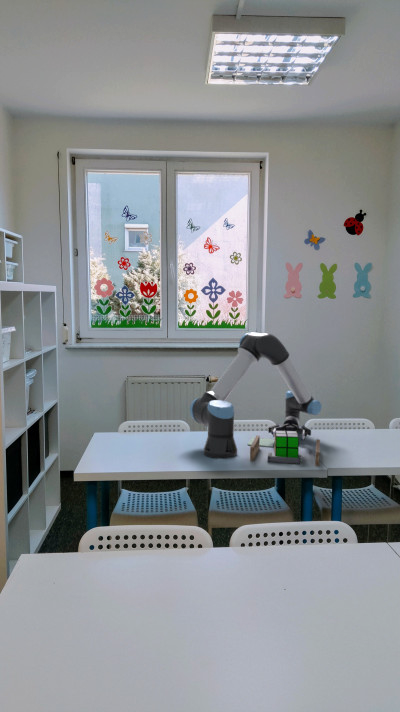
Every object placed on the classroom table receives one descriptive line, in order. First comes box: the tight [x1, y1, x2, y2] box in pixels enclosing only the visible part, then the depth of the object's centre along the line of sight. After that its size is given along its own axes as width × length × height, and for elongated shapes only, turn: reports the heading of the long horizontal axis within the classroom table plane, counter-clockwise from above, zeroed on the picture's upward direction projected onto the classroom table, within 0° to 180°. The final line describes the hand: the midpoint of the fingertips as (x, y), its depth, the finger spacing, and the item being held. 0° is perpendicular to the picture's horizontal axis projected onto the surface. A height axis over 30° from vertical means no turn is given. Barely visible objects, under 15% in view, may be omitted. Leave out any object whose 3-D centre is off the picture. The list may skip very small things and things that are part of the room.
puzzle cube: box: [273, 431, 300, 458], centre depth 224 cm, size 10×10×10 cm
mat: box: [247, 437, 275, 448], centre depth 244 cm, size 12×12×1 cm
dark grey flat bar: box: [266, 452, 302, 466], centre depth 215 cm, size 14×6×2 cm, turn 76°
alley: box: [249, 435, 321, 467], centre depth 222 cm, size 29×20×6 cm
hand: (288, 435), depth 233 cm, fingers open, 13 cm apart
